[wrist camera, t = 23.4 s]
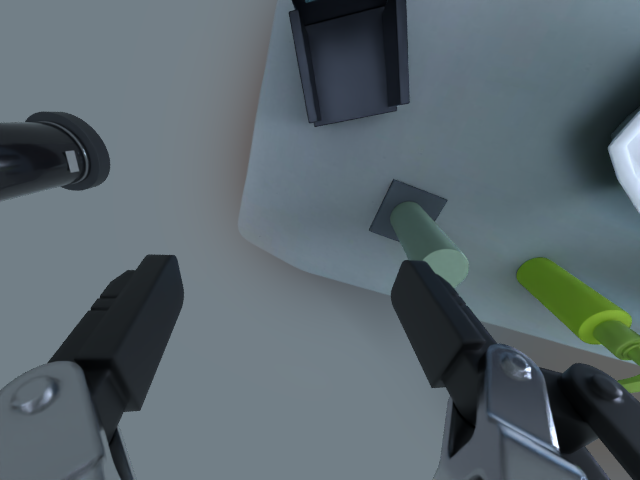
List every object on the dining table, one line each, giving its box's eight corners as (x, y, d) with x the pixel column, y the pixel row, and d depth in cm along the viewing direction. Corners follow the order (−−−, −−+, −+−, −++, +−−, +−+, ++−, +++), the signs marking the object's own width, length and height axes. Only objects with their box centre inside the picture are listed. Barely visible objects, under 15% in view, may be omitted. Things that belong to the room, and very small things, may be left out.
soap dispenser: (504, 275, 45) (612, 380, 27) (542, 250, 43) (689, 348, 25) (522, 295, 47) (636, 406, 29) (560, 272, 44) (711, 378, 26)
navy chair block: (383, 111, 36) (469, 104, 12) (319, 124, 37) (287, 139, 14) (376, 1, 31) (494, -363, 7) (302, 20, 32) (203, -241, 9)
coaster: (368, 229, 43) (369, 231, 43) (393, 179, 40) (394, 179, 39) (417, 247, 44) (418, 248, 44) (446, 199, 40) (447, 200, 40)
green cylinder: (384, 225, 42) (408, 282, 28) (399, 196, 40) (433, 241, 26) (413, 236, 43) (451, 297, 28) (429, 208, 41) (479, 258, 26)
